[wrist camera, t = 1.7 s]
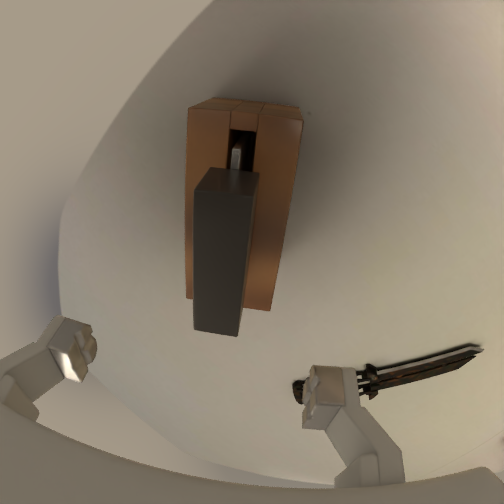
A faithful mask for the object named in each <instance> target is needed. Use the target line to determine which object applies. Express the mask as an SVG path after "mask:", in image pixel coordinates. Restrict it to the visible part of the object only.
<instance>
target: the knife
mask: <svg viewBox="0 0 504 504" xmlns="http://www.w3.org/2000/svg"><path fill="white" fill-rule="evenodd" d="M483 350H484V349H481V348H476V347H472V346H470V347H467V348H464V349H460V350H457V351H454V352H451V353H447V354H444V355H440V356H437V357H433V358H430V359H426V360H422V361H418V362H415V363H411V364H407V365H403V366H398V367H394V368H390V369H385V370H381V371H377V370H376V367H374V366H372V365H370V364H366V370H367V371H363V372H356V376H358V375H362V379H357V383H359V382H364V381H369V380H370V384H365V385H360V386H358V390H359V389H361V388H363V392H360V393H359V396H361V395H364V394H366V395H369V400H371V399H373V398H374V397H375V396H376V395H378V390H380V389H385V388H390V387H394V386H398V385H402V384H407V383H411V382H415V381H418V380H422V379H426V378H430V377H433V376H437V375H440V374H444V373H447V372H450V371H453V370H457V369H459V368H460V367H462V366H463V365H465V364H466V363H467V362H469V361H470V360H472V359H473V358H474V357H476V356H474V355H475V354H477V353H480V352H482V351H483ZM462 358H463V359H462ZM459 359H460V360H459ZM456 360H457V361H456ZM453 361H454V362H453ZM450 362H451V363H450ZM439 365H440V366H439ZM436 366H437V367H436ZM432 367H433V368H432ZM429 368H430V369H429ZM425 369H426V370H425ZM421 370H422V371H421ZM417 371H419V372H417ZM414 372H415V373H414ZM410 373H411V374H410ZM406 374H407V375H406ZM402 375H403V376H402ZM393 377H394V378H393ZM388 378H390V379H388ZM384 379H385V380H384ZM380 380H381V381H380ZM302 384H305V381H303V382H301V381H300V382H294V383H293V393H294V396H295V399H296V402H298V403H299V404H303V402H302V398H303V394H302V391H303V389H302V388H303V385H302Z"/></svg>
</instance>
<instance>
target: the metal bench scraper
mask: <svg viewBox="0 0 504 504" xmlns="http://www.w3.org/2000/svg"><path fill="white" fill-rule="evenodd" d="M253 136H254V132H253V131H244V132H243V134H242V135H241V137H240V138H239V140H238V141H237V143H236V144H235V146H234V147H233V149H232V159H231V169H224V168H215V167H210V168H209V169H208V171H207V172H206V173H205V175H204V176H203V178H202V179H201V180H200V182H199V183H198V185H197V186H196V187H195V189H194V192H193V321H194V330H198V331H204V332H209V333H215V334H221V335H228V336H234V337H237V336H238V332H239V327H240V321H241V315H242V310H243V304H244V298H245V290H246V282H247V273H248V265H249V257H250V249H251V241H252V233H253V225H254V216H255V208H256V200H257V192H258V184H259V176H260V174H259V173H257V172H250V163H251V154H252V145H253Z"/></svg>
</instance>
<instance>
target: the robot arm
mask: <svg viewBox="0 0 504 504" xmlns="http://www.w3.org/2000/svg"><path fill="white" fill-rule="evenodd" d="M92 332H93V331H92V328H91V325H88V324H85V323H82V322H79V321H75V320H72V319H69V318H66V317H63V316H60V315H57V316H55V317H54V318H53V319H52V321H51V322H50V323H49V325H48V326H47V328H46V329H45V330H44V332H43V334H42V335H41V336H40V338H39V339H38V341H37V342H36V343H34V342H33V343H31V344H29V345H27V346H25V347H23V348H21V349H19V350H18V351H16V352H14V353H12V354H10V355H8V356H7V357H5V358H3V359H1V360H0V504H504V483H503V482H502V481H501V480H500V479H499V478H498V477H497V476H496V475H495V474H494V473H493V472H492V471H491V470H489V469H488V468H486V467H478V468H474V469H470V470H466V471H462V472H458V473H454V474H450V475H445V476H441V477H436V478H430V479H425V480H419V481H413V482H406V483H405V474H404V466H403V459H402V452H401V450H400V448H399V447H398V446H397V445H396V444H395V443H394V441H393V440H392V439H391V438H390V437H389V435H388V434H387V433H386V432H385V431H384V430H383V428H382V427H381V426H380V425H379V424H378V422H377V421H376V420H375V419H374V418H373V416H372V415H371V414H370V413H369V412H368V411H367V409H366V408H365V407H361V405H360V398H359V390H358V383H357V376H356V370H355V369H354V368H344V367H334V366H319V365H313V366H312V367H311V369H310V377H308V378H306V381H305V384H304V388H303V398H302V402H303V404H304V405H305V408H304V410H303V412H302V428H304V429H317V430H325V432H326V434H327V436H328V437H329V439H330V440H331V442H332V444H333V445H334V447H335V449H336V450H337V452H338V453H339V455H340V457H341V458H342V460H343V461H344V463H345V465H346V466H347V468H346V469H345V470H344V471H342V472H341V473H340V474H339V475H338V476H337V477H335V488H334V489H306V488H305V489H304V488H282V487H268V486H257V485H247V484H239V483H231V482H225V481H218V480H212V479H207V478H201V477H196V476H191V475H186V474H182V473H177V472H173V471H169V470H165V469H161V468H157V467H153V466H149V465H146V464H142V463H139V462H135V461H132V460H129V459H126V458H123V457H120V456H117V455H113V454H111V453H108V452H105V451H102V450H99V449H97V448H94V447H92V446H89V445H86V444H84V443H81V442H79V441H76V440H74V439H72V438H69V437H67V436H65V435H62V434H60V433H58V432H56V431H54V430H51V429H49V428H47V427H45V426H43V425H41V424H39V423H37V422H36V420H37V418H38V416H39V410H38V409H37V408H36V407H35V405H34V404H33V403H32V402H34V401H35V400H36V399H38V398H39V397H40V396H42V395H43V394H44V393H46V392H47V391H48V390H50V389H51V388H52V387H54V386H55V385H56V384H58V383H59V382H60V381H62V380H63V379H64V377H65V378H67V379H70V380H73V381H76V382H79V383H82V382H83V380H84V378H85V376H86V374H87V372H88V366H87V365H88V364H90V363H92V362H93V360H94V358H95V356H96V352H97V342H96V339H95V338H94V337H93V336H92V335H91V333H92Z"/></svg>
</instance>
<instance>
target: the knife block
mask: <svg viewBox="0 0 504 504" xmlns="http://www.w3.org/2000/svg"><path fill="white" fill-rule="evenodd" d="M303 124H304V120H303V117H302V114H301V112H300V109H299V107H295V106H288V105H281V104H274V103H266V102H258V101H249V100H239V99H227V98H211V99H208V100H206V101H204V102H201V103H199V104H196V105H194V106H192V107H190V108H188V122H187V143H186V174H185V274H186V298H187V299H193V192H194V189H195V187H196V186H197V185H198V183H199V182H200V180H201V179H202V178H203V176H204V175H205V173H206V172H207V171H208V169H209V168H210V167H215V168H224V169H231V159H232V149H233V147H234V146H235V144H236V143H237V141H238V140H239V138H240V137H241V135H242V134H243V132H244V131H253V132H254V136H253V145H252V154H251V163H250V172H257V173H259V174H260V176H259V184H258V192H257V200H256V208H255V216H254V225H253V233H252V241H251V249H250V257H249V265H248V273H247V282H246V290H245V298H244V304H243V308H250V309H256V310H263V311H270V309H271V304H272V299H273V294H274V289H275V283H276V278H277V273H278V268H279V262H280V257H281V252H282V246H283V241H284V236H285V230H286V224H287V219H288V213H289V208H290V202H291V196H292V190H293V185H294V179H295V173H296V167H297V161H298V155H299V149H300V143H301V136H302V130H303Z"/></svg>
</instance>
